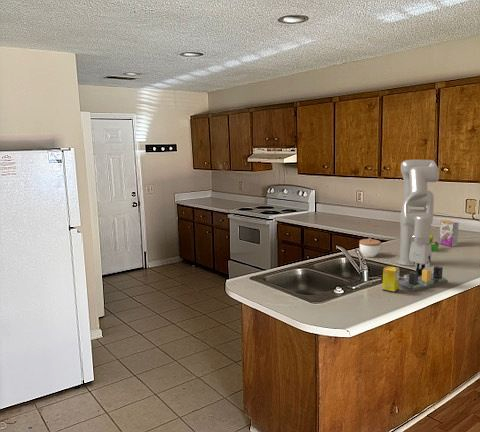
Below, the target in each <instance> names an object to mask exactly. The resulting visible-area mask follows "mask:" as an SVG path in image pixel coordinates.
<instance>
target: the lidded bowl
mask: <svg viewBox="0 0 480 432" xmlns="http://www.w3.org/2000/svg"><path fill="white" fill-rule="evenodd" d="M358 242H359V251H360V254H362V255H363V256H364V257H366V258H375V257H376V256H377V255H378V254H379V253H380V251H381V241H380V240H378V239H372V238H371V237H369V238H363V239H360V240H359V241H358Z"/></svg>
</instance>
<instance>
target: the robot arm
mask: <svg viewBox="0 0 480 432" xmlns="http://www.w3.org/2000/svg"><path fill="white" fill-rule="evenodd" d="M437 165H438V164H437V163H436V162H435V161H434V160H432V159H406V160H403V161H402V162H401V164H400V172H401V176H402V179H403V202H402V206H401V211H400V213H399V222H400V223H399V224H400V232H399V233H400V234H399V235H400V236H399V237H400V238H399V254H398V258H397V259H395V262H396V264H398V265H401V266H402V265H403V266H411V267H413V266H414V267H415V272H417V273H418V276H422V270H423V269H426V268H428V267H429V268H430V267H431V262H432V251H431V244H430V234H432V224H433V219H434V203H435V201H434V200H435V199H434V198H435V197H434V193H433V191H431V190H428V183H437V182H438V181H439V178H440V171H439V167H438V166H437ZM409 207H410V208H409ZM411 207H412V208H411ZM414 208H415V209H414ZM416 208H423V209H416Z"/></svg>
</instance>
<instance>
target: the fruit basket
mask: <svg viewBox="0 0 480 432" xmlns="http://www.w3.org/2000/svg"><path fill="white" fill-rule="evenodd" d="M433 240H434V237H433V234H432V233H431V234H430V244H431V253H433V252H434V253H435V252H438V249H439V246H440V244H439V241H433Z"/></svg>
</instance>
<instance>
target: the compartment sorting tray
mask: <svg viewBox="0 0 480 432" xmlns="http://www.w3.org/2000/svg"><path fill="white" fill-rule="evenodd" d="M443 270H444V269H443V267H442V266H440V265H436V266H433V271H432V272H433V273H432V272H431V280H430V281H427V282H425V281H422V276H418V273H417V272H416V271H410V272H408V274H403V277H402V276H399V288H400V289H403V290H406V291H409V292H413V293H414V292H418V291H421V290H424V289H429V288H432V287H436V286H440V285H443V284H448V283H449V280H448V279H447V277H444V276H443Z"/></svg>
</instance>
